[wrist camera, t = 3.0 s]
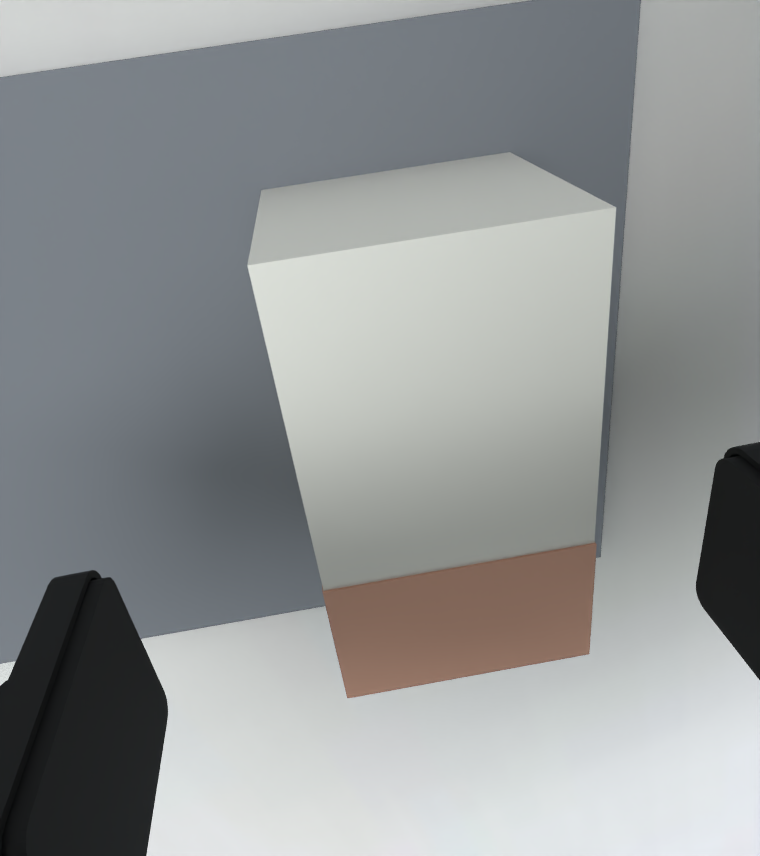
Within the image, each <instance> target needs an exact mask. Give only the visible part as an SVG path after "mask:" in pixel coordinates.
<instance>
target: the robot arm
mask: <svg viewBox="0 0 760 856" xmlns="http://www.w3.org/2000/svg"><path fill="white" fill-rule="evenodd" d="M696 591H697V596H698V599H699V601H700V603H701V605H702V607H703V608H704V609H705V611H706V612H707V613H708V615H709V616H710V617H711V618H712V620H713V621H714V622H715V624H716V625H717V626H718V627H719V629H720V630H721V631H722V632H723V634H724V635H725V636H726V638H727V639H728V640H729V641H730V643H731V644H732V645H733V647H734V648H735V649H736V650H737V652H738V653H739V654H740V655H741V657H742V658H743V659H744V661H745V662H746V663H747V664H748V666H749V667H750V668H751V669H752V671H753V672H754V673H755V675H756V676H757V677H758V678H759V680H760V442H758V443H753V444H747V445H742V446H737V447H732V448H730V449H728V450H727V452H726V453H725V455H724V458H723V459H721V460H719V461H718V462H717V464H716V467H715V472H714V478H713V484H712V490H711V496H710V502H709V508H708V514H707V520H706V526H705V533H704V539H703V545H702V551H701V557H700V563H699V569H698V575H697V581H696ZM167 717H168V706H167V699H166V695H165V692H164V690H163V688H162V686H161V683H160V681H159V679H158V677H157V674H156V672H155V670H154V668H153V666H152V663H151V661H150V659H149V657H148V654H147V652H146V650H145V648H144V646H143V643H142V641H141V639H140V637H139V634H138V632H137V630H136V628H135V626H134V623H133V621H132V619H131V617H130V615H129V612H128V610H127V608H126V606H125V603H124V601H123V599H122V597H121V595H120V592H119V590H118V588H117V586H116V584H115V582H114V580H113V579H112V578H111V577H106V578H102V577H101V575H100V574H99V573H98V572H97V571H95V570H90V571H85V572H80V573H74V574H69V575H64V576H59V577H55V578H53V579H52V580H51V581H50V583H49V584H48V586H47V589H46V591H45V594H44V596H43V598H42V601H41V603H40V605H39V608H38V610H37V613H36V615H35V617H34V620H33V622H32V624H31V627H30V629H29V632H28V634H27V636H26V639H25V641H24V644H23V646H22V648H21V651H20V653H19V655H18V658H17V660H16V663H15V665H14V667H13V670H12V672H11V674H10V677H9V679H8V680H7V681H5V682H4V683H3V684H2V685H1V686H0V856H146V853H147V847H148V840H149V834H150V828H151V821H152V815H153V808H154V802H155V796H156V789H157V783H158V776H159V770H160V763H161V757H162V751H163V744H164V738H165V731H166V725H167Z"/></svg>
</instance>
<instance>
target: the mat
mask: <svg viewBox="0 0 760 856" xmlns="http://www.w3.org/2000/svg"><path fill="white" fill-rule="evenodd" d="M640 4H641V0H532V1H525V2H518V3H511V4H504V5H497V6H490V7H483V8H476V9H469V10H463V11H456V12H449V13H442V14H435V15H428V16H421V17H414V18H407V19H400V20H394V21H387V22H380V23H373V24H366V25H359V26H352V27H345V28H338V29H331V30H324V31H318V32H311V33H304V34H297V35H290V36H283V37H276V38H269V39H262V40H255V41H248V42H242V43H235V44H228V45H221V46H214V47H207V48H200V49H193V50H186V51H179V52H172V53H166V54H159V55H152V56H145V57H138V58H131V59H124V60H117V61H110V62H103V63H97V64H90V65H83V66H76V67H69V68H62V69H55V70H48V71H41V72H34V73H27V74H21V75H14V76H7V77H0V664H2V663H7V662H13V661H16V660H17V658H18V655H19V653H20V651H21V648H22V646H23V644H24V641H25V639H26V636H27V634H28V632H29V629H30V627H31V624H32V622H33V620H34V617H35V615H36V613H37V610H38V608H39V605H40V603H41V601H42V598H43V596H44V594H45V591H46V589H47V586H48V584H49V583H50V581H51V580H52V579H53V578H55V577H59V576H64V575H69V574H74V573H80V572H85V571H90V570H95V571H97V572H98V573H99V574H100V575H101V577H102V578H106V577H111V578H112V579H113V580H114V582H115V584H116V586H117V588H118V590H119V592H120V595H121V597H122V599H123V601H124V603H125V606H126V608H127V610H128V612H129V615H130V617H131V619H132V621H133V623H134V626H135V628H136V630H137V632H138V634H139V637H140V639H142V638H148V637H153V636H159V635H165V634H170V633H176V632H181V631H187V630H193V629H198V628H204V627H210V626H215V625H221V624H226V623H232V622H238V621H243V620H249V619H255V618H260V617H266V616H271V615H277V614H283V613H288V612H294V611H300V610H305V609H311V608H316V607H322V606H326V605H325V601H324V597H323V591H322V582H321V578H320V573H319V569H318V565H317V561H316V556H315V552H314V548H313V544H312V539H311V535H310V531H309V527H308V522H307V518H306V514H305V509H304V505H303V501H302V497H301V492H300V488H299V484H298V480H297V475H296V471H295V467H294V463H293V458H292V454H291V450H290V445H289V441H288V437H287V433H286V428H285V424H284V420H283V416H282V411H281V407H280V403H279V399H278V394H277V390H276V386H275V381H274V377H273V373H272V369H271V364H270V360H269V356H268V352H267V347H266V343H265V339H264V335H263V330H262V326H261V322H260V317H259V313H258V309H257V305H256V300H255V296H254V292H253V288H252V283H251V279H250V275H249V271H248V266H247V265H248V259H249V254H250V249H251V243H252V238H253V232H254V227H255V222H256V216H257V211H258V206H259V200H260V195H261V190H265V189H272V188H278V187H285V186H291V185H298V184H305V183H311V182H318V181H324V180H331V179H337V178H344V177H350V176H357V175H363V174H370V173H376V172H383V171H389V170H396V169H402V168H409V167H415V166H422V165H428V164H435V163H441V162H448V161H454V160H461V159H468V158H474V157H481V156H487V155H494V154H500V153H507V152H511V153H512V154H514V155H516V156H518V157H520V158H522V159H524V160H526V161H528V162H530V163H532V164H534V165H536V166H537V167H539V168H541V169H543V170H545V171H547V172H549V173H551V174H553V175H555V176H557V177H559V178H561V179H563V180H564V181H566V182H568V183H570V184H572V185H574V186H576V187H578V188H580V189H582V190H584V191H586V192H588V193H589V194H591V195H593V196H595V197H597V198H599V199H601V200H603V201H605V202H607V203H609V204H611V205H613V206H615V207H616V219H615V234H614V249H613V265H612V280H611V296H610V311H609V326H608V342H607V357H606V373H605V388H604V403H603V419H602V434H601V450H600V465H599V480H598V496H597V511H596V527H595V543H596V544H597V546H596V558H598V557H600V556H601V543H602V529H603V515H604V501H605V487H606V473H607V460H608V446H609V432H610V418H611V404H612V391H613V377H614V363H615V349H616V335H617V321H618V308H619V294H620V280H621V266H622V252H623V239H624V225H625V211H626V197H627V183H628V170H629V156H630V142H631V128H632V114H633V100H634V87H635V73H636V59H637V45H638V31H639V18H640Z"/></svg>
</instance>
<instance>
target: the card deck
mask: <svg viewBox="0 0 760 856" xmlns="http://www.w3.org/2000/svg"><path fill="white" fill-rule="evenodd" d="M615 219H616V207H615V206H613V205H611V204H609V203H607V202H605V201H603V200H601V199H599V198H597V197H595V196H593V195H591V194H589V193H588V192H586V191H584V190H582V189H580V188H578V187H576V186H574V185H572V184H570V183H568V182H566V181H564V180H563V179H561V178H559V177H557V176H555V175H553V174H551V173H549V172H547V171H545V170H543V169H541V168H539V167H537V166H536V165H534V164H532V163H530V162H528V161H526V160H524V159H522V158H520V157H518V156H516V155H514V154H512V153H511V152H507V153H500V154H494V155H487V156H481V157H474V158H468V159H461V160H454V161H448V162H441V163H435V164H428V165H422V166H415V167H409V168H402V169H396V170H389V171H383V172H376V173H370V174H363V175H357V176H350V177H344V178H337V179H331V180H324V181H318V182H311V183H305V184H298V185H291V186H285V187H278V188H272V189H265V190H261V195H260V200H259V206H258V211H257V216H256V222H255V227H254V232H253V238H252V243H251V249H250V254H249V259H248V265H247V266H248V271H249V275H250V279H251V283H252V288H253V292H254V296H255V300H256V305H257V309H258V313H259V317H260V322H261V326H262V330H263V335H264V339H265V343H266V347H267V352H268V356H269V360H270V364H271V369H272V373H273V377H274V381H275V386H276V390H277V394H278V399H279V403H280V407H281V411H282V416H283V420H284V424H285V428H286V433H287V437H288V441H289V445H290V450H291V454H292V458H293V463H294V467H295V471H296V475H297V480H298V484H299V488H300V492H301V497H302V501H303V505H304V509H305V514H306V518H307V522H308V527H309V531H310V535H311V539H312V544H313V548H314V552H315V556H316V561H317V565H318V569H319V573H320V578H321V582H322V591H323V597H324V601H325V605H326V610H327V614H328V618H329V622H330V627H331V631H332V635H333V639H334V644H335V648H336V652H337V656H338V660H339V665H340V669H341V673H342V677H343V682H344V686H345V690H346V694H347V698H352V697H358V696H363V695H369V694H374V693H380V692H385V691H391V690H396V689H401V688H407V687H412V686H418V685H423V684H429V683H434V682H440V681H445V680H451V679H456V678H461V677H467V676H472V675H478V674H483V673H489V672H494V671H500V670H505V669H511V668H516V667H521V666H527V665H532V664H538V663H543V662H549V661H554V660H560V659H565V658H571V657H576V656H581V655H587V654H589V650H590V635H591V620H592V605H593V591H594V576H595V561H596V546H597V544H596V543H595V527H596V511H597V496H598V480H599V465H600V450H601V434H602V419H603V403H604V388H605V373H606V357H607V342H608V326H609V311H610V296H611V280H612V265H613V249H614V234H615Z"/></svg>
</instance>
